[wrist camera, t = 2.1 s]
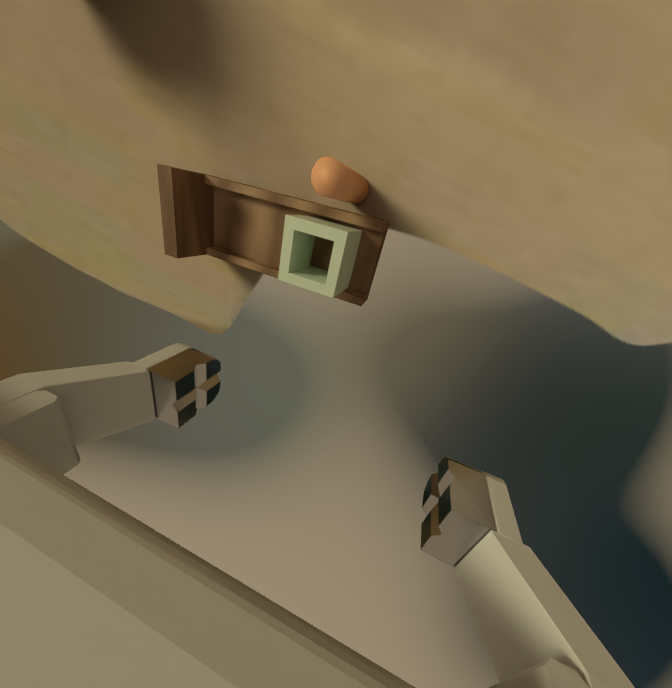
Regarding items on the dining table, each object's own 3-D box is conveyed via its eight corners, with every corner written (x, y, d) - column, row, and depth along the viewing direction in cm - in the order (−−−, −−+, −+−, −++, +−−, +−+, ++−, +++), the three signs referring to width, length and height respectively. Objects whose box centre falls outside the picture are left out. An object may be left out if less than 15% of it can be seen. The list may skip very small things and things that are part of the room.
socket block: (362, 230, 31) (348, 232, 26) (348, 287, 34) (332, 298, 29) (309, 215, 32) (285, 214, 27) (300, 271, 36) (277, 279, 31)
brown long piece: (389, 222, 32) (375, 222, 25) (367, 299, 37) (350, 318, 29) (212, 175, 37) (156, 163, 30) (212, 248, 42) (165, 254, 34)
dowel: (371, 178, 31) (346, 160, 22) (364, 206, 32) (338, 200, 24) (347, 172, 31) (314, 153, 23) (342, 200, 33) (308, 192, 24)
